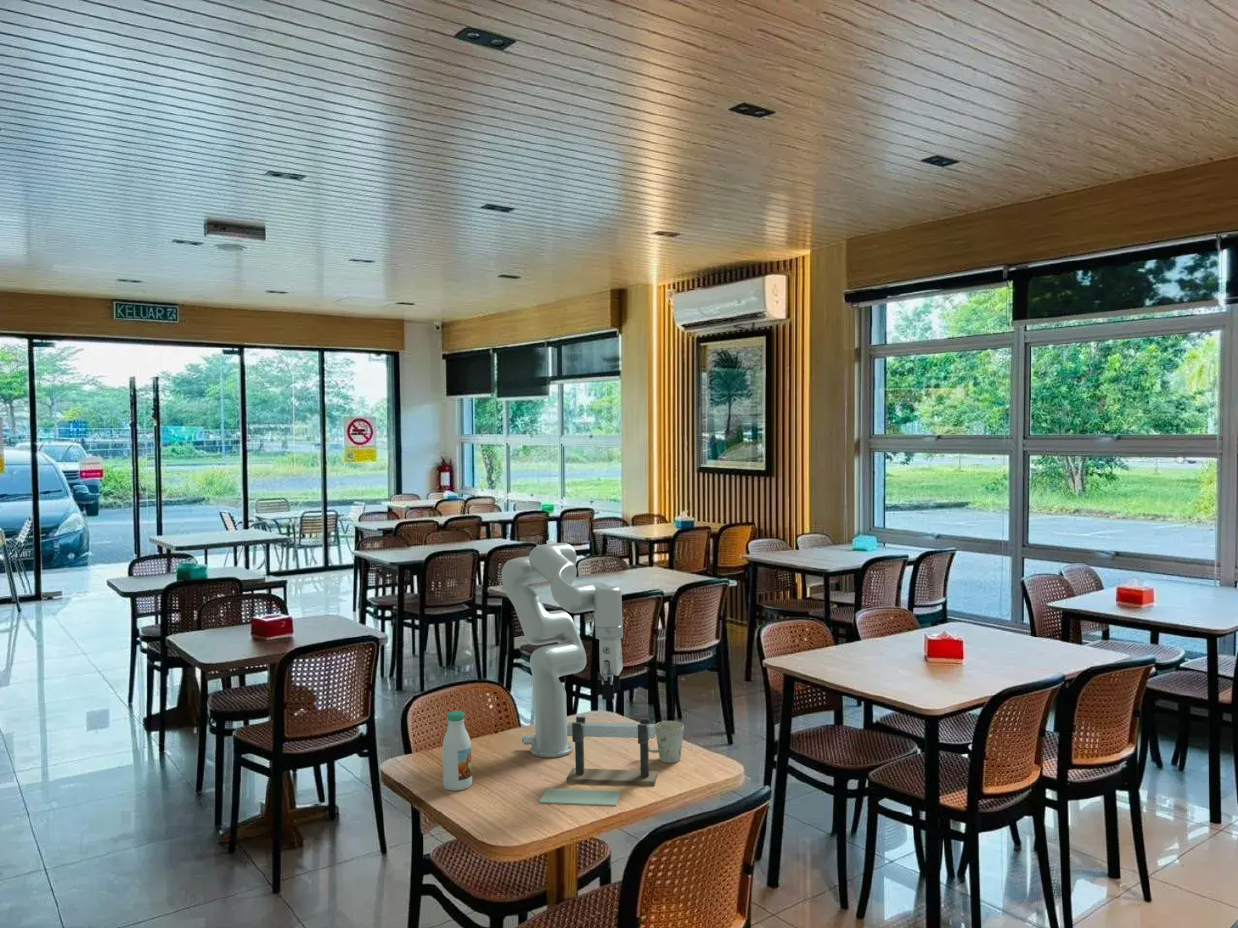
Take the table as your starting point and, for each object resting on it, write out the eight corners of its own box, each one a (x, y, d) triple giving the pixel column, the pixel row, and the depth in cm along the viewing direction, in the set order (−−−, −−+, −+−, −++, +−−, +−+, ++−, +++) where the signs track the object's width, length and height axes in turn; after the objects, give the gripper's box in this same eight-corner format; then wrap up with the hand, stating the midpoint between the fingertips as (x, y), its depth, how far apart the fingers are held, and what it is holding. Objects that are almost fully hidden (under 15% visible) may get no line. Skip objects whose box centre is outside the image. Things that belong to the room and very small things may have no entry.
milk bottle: (448, 793, 243) (446, 718, 243) (439, 784, 250) (437, 711, 250) (476, 787, 247) (474, 714, 246) (467, 778, 254) (465, 707, 253)
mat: (539, 803, 235) (539, 801, 235) (547, 789, 244) (547, 788, 244) (616, 805, 232) (615, 804, 232) (621, 792, 241) (621, 791, 241)
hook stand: (566, 782, 249) (564, 724, 248) (572, 772, 257) (571, 715, 256) (654, 785, 245) (652, 726, 245) (657, 775, 253) (656, 717, 252)
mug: (682, 764, 260) (681, 730, 260) (639, 762, 263) (638, 728, 263) (686, 755, 268) (685, 721, 268) (644, 753, 271) (643, 719, 271)
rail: (567, 735, 251) (566, 725, 251) (569, 732, 254) (569, 721, 254) (654, 738, 247) (654, 727, 247) (655, 734, 250) (655, 723, 250)
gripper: (617, 638, 241) (619, 703, 241) (627, 625, 258) (629, 686, 258) (589, 638, 242) (591, 702, 242) (601, 626, 259) (603, 686, 259)
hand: (611, 694), depth 250 cm, fingers open, 9 cm apart
